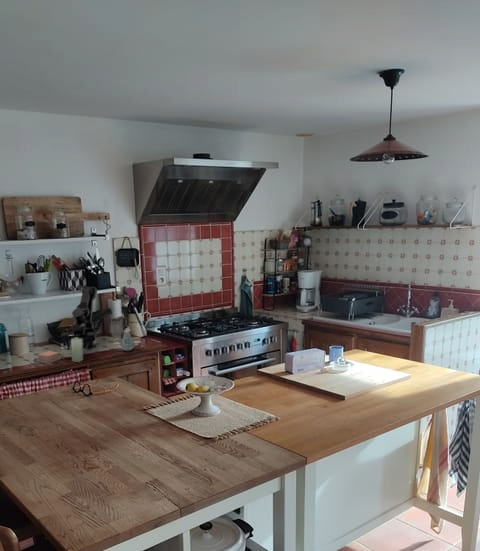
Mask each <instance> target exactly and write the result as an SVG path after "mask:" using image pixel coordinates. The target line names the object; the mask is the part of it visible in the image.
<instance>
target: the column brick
mask: <svg viewBox="0 0 480 551" xmlns="http://www.w3.org/2000/svg"><path fill="white" fill-rule="evenodd" d="M70 348H71V362H72V361H74V362H79V363H81V362H80V361H82V360H83V361H84V352H83V350H84V349H83V338H79V337H75V338H70ZM83 361H82V362H83Z"/></svg>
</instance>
